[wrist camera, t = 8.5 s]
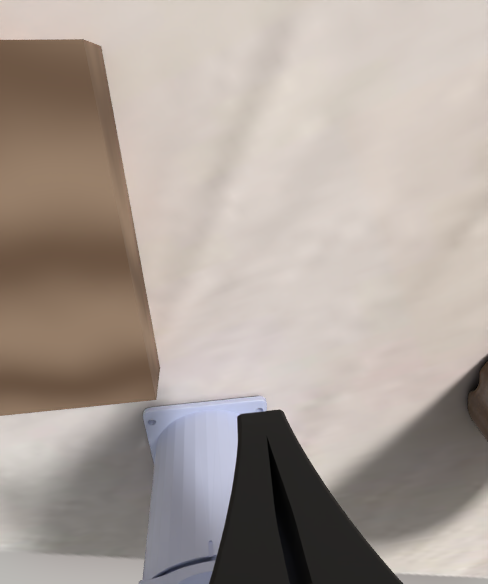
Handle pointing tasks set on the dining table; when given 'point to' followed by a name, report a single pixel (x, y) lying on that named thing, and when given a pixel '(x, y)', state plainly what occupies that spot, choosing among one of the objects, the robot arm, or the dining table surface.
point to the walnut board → (67, 238)
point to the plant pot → (480, 403)
